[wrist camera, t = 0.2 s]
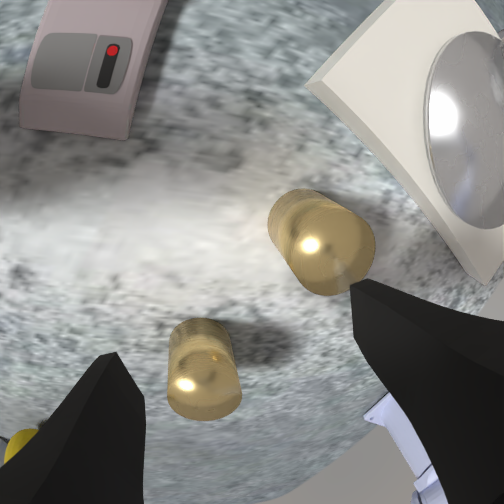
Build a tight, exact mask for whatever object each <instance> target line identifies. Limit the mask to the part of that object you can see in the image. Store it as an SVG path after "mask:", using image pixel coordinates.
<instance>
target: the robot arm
mask: <svg viewBox="0 0 504 504" xmlns="http://www.w3.org/2000/svg"><path fill="white" fill-rule="evenodd" d="M350 296H351V307H352V320H353V334H354V339H355V340H356V342H357V344H358V346H359V348H360V350H361V352H362V354H363V355H364V357H365V359H366V361H367V362H368V364H369V365H370V367H371V368H372V369H373V371H374V372H375V373H376V375H377V376H378V378H379V379H380V380H381V382H382V383H383V384H384V386H385V387H386V388H387V390H388V391H389V393H388V394H387V395H385V396H384V397H383V398H382V399H381V400H380V401H379V402H378V403H377V404H376V405H375V406H373V407H372V408H371V409H370V410H369V411H368V412H367V413H366V414H365V415H364V419H365V420H366V421H369V422H372V423H375V424H378V425H381V426H384V427H386V428H387V429H388V431H389V433H390V434H391V436H392V438H393V439H394V441H395V443H396V444H397V446H398V447H399V449H400V451H401V453H402V454H403V456H404V457H405V459H406V461H407V463H408V464H409V466H410V468H411V469H412V471H413V473H414V474H415V476H416V478H417V479H418V480H417V481H415V482H414V483H413V484H414V485H415V487H416V489H417V490H416V491H414V492H413V494H412V499H411V504H504V321H499V320H493V319H488V318H484V317H479V316H475V315H470V314H467V313H463V312H459V311H456V310H453V309H450V308H446V307H443V306H440V305H437V304H434V303H431V302H428V301H426V300H423V299H420V298H418V297H415V296H412V295H410V294H407V293H405V292H402V291H400V290H397V289H395V288H392V287H390V286H387V285H384V284H382V283H379V282H377V281H374V280H371V279H365V280H362V281H359V282H356V283H353V284H350ZM145 434H146V415H145V400H144V396H143V394H142V393H141V391H140V390H139V388H138V387H137V385H136V383H135V382H134V380H133V379H132V377H131V375H130V374H129V372H128V371H127V369H126V367H125V366H124V364H123V362H122V361H121V359H120V357H119V356H118V354H117V352H113V353H109V354H104V355H100V356H99V357H98V358H97V359H96V360H95V361H94V362H93V363H92V364H91V366H90V367H89V368H88V369H87V371H86V372H85V373H84V374H83V376H82V377H81V378H80V380H79V381H78V382H77V383H76V385H75V386H74V387H73V389H72V390H71V391H70V393H69V394H68V395H67V396H66V398H65V399H64V400H63V402H62V403H61V404H60V405H59V407H58V408H57V409H56V410H55V412H54V413H53V414H52V415H51V416H50V418H49V419H48V420H47V421H46V423H45V424H44V425H43V426H42V427H41V429H40V430H39V431H38V432H37V433H36V434H35V435H34V436H33V437H32V438H31V439H30V440H29V441H28V442H27V444H26V445H25V446H24V447H23V448H22V449H21V450H20V451H18V452H17V453H16V454H15V455H14V456H13V457H12V458H11V459H9V460H8V461H7V462H6V463H5V464H4V465H3V466H1V467H0V504H144V500H143V469H144V451H145Z"/></svg>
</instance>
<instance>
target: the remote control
mask: <svg viewBox="0 0 504 504" xmlns="http://www.w3.org/2000/svg"><path fill="white" fill-rule="evenodd" d="M167 2H168V0H49V1H48V4H47V6H46V9H45V11H44V14H43V17H42V19H41V22H40V25H39V28H38V31H37V34H36V37H35V40H34V43H33V46H32V50H31V53H30V56H29V60H28V63H27V67H26V71H25V75H24V79H23V83H22V87H21V92H20V98H19V126H20V127H21V128H25V129H35V130H45V131H55V132H64V133H72V134H80V135H88V136H95V137H102V138H110V139H117V140H127V139H128V137H129V132H130V128H131V123H132V119H133V115H134V111H135V106H136V102H137V98H138V94H139V91H140V87H141V83H142V79H143V76H144V72H145V69H146V65H147V62H148V59H149V55H150V52H151V49H152V46H153V43H154V39H155V36H156V33H157V30H158V27H159V25H160V22H161V19H162V16H163V13H164V10H165V8H166V5H167Z"/></svg>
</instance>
